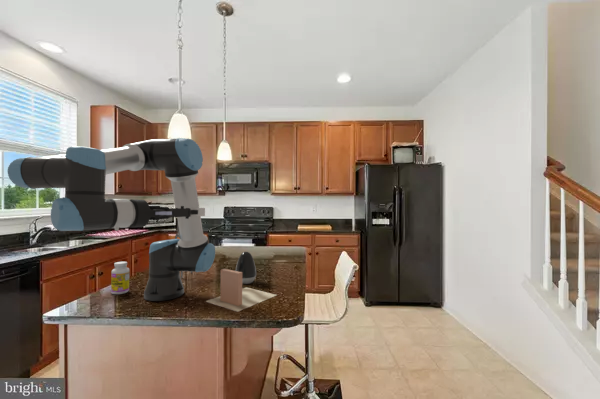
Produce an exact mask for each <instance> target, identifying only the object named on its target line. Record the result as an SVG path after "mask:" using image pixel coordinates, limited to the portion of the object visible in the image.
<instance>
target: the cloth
mask: <svg viewBox="0 0 600 399" xmlns="http://www.w3.org/2000/svg"><path fill="white" fill-rule="evenodd" d="M276 296H277V294H275V293H270V292H268V291H267V292H266V291H262V290H258V289H254V288H250V287H242V305H239V306H237V305H234V304H230V303H227V302H224V301H221V300H220V295H219V296H217V297H214V298H210V299H208V300H205V302H206V303H208V304H213V305H215V306H218V307H220V308H221V307H222V308H225V309H226V310H231V311H234V312H237V313H238V312H240V311H242V310H245V309H249V308H250V307H252V306H255V305H258V304H259V303H261V302H264V301H266V300H269V299H271V298H275V297H276Z"/></svg>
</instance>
